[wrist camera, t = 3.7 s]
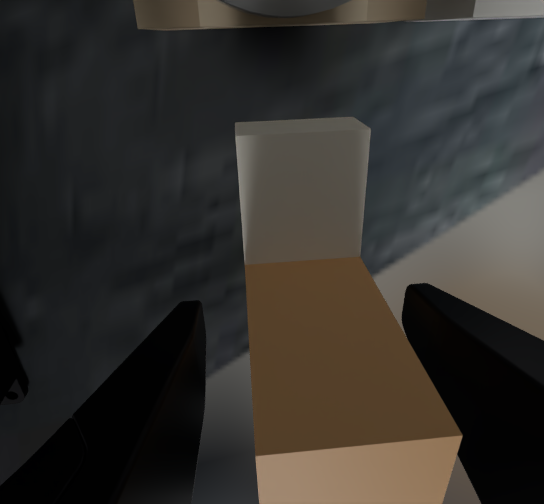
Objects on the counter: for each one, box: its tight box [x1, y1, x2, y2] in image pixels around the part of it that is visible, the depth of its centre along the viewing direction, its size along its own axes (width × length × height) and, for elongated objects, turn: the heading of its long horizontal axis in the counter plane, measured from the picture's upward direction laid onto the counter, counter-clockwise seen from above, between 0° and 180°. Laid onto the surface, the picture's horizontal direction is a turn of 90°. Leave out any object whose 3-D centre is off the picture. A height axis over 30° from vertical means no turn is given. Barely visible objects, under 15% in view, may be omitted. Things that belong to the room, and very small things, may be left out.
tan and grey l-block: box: [235, 117, 463, 504], centre depth 7 cm, size 2×5×5 cm, turn 2°
